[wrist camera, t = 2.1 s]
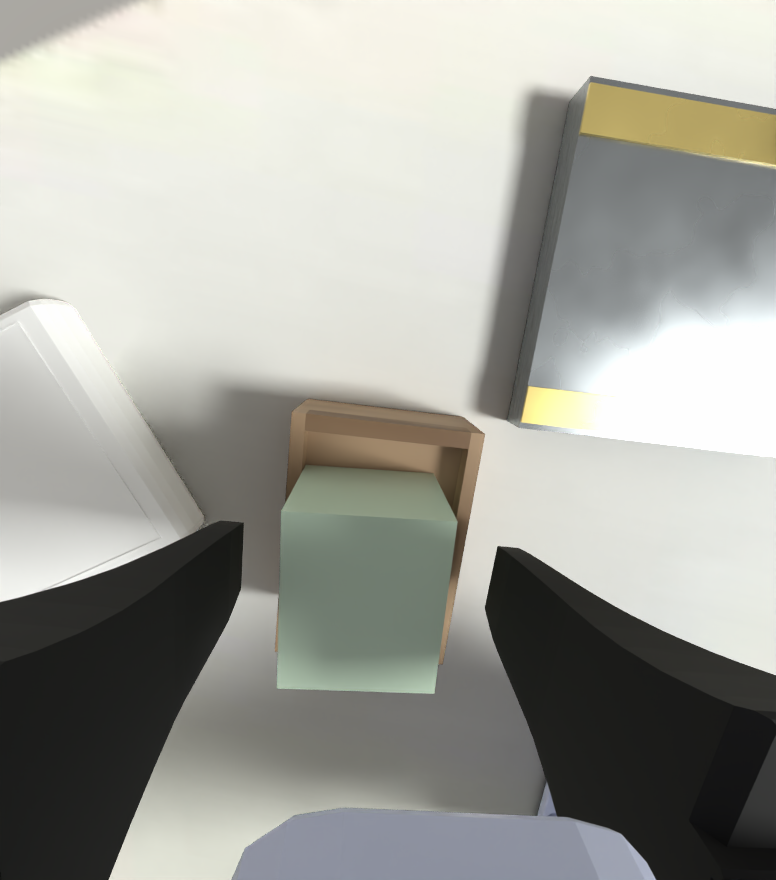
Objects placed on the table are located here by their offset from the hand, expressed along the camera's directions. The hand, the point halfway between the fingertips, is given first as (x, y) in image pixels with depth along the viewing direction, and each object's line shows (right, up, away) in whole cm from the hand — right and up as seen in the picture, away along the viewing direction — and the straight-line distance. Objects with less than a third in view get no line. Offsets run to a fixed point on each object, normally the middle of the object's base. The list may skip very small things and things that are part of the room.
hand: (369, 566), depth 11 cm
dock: (+10, +9, +2) cm, 14 cm away
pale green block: (0, 0, +2) cm, 2 cm away
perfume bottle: (-11, +1, +4) cm, 12 cm away
